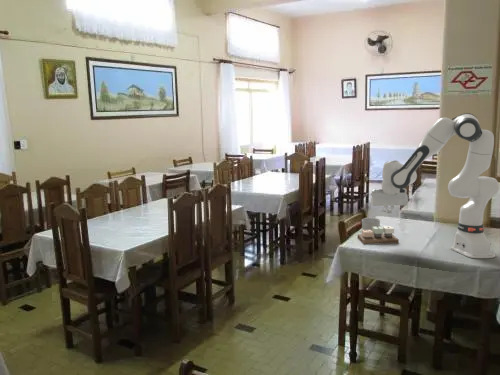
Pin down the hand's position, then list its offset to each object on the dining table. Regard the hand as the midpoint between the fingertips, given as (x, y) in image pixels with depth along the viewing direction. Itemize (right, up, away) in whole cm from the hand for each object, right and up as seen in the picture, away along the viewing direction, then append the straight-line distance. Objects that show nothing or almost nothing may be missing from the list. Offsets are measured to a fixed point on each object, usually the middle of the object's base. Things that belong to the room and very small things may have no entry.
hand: (388, 212), depth 250 cm
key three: (-12, -15, +2) cm, 19 cm away
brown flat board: (-6, -16, +3) cm, 17 cm away
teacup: (-5, -13, +21) cm, 25 cm away
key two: (-6, -13, +2) cm, 15 cm away
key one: (0, -13, +2) cm, 13 cm away
